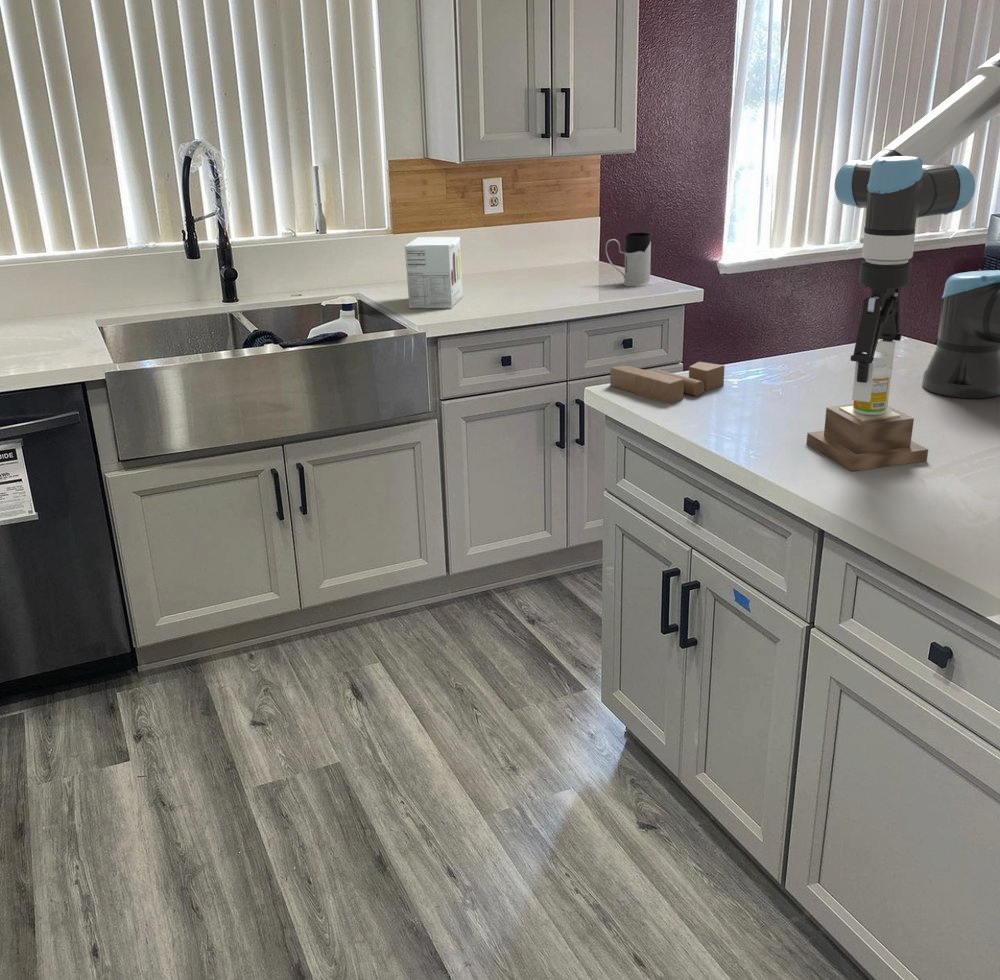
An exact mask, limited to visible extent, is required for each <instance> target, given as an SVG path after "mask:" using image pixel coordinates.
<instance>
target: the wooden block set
mask: <svg viewBox="0 0 1000 980" xmlns="http://www.w3.org/2000/svg"><path fill="white" fill-rule="evenodd" d="M725 367H726V366H725V365H724V364H717V363H711V362H703V361H697V362H696V363H694V364H692V365H691V364H690V366H689V367H688V377H687V376H684V375H680V374H676V373H673V372H669V371H668V372H667V371H665V370H661V369H656V370H646V369H642V368H639V367H634V366H630V365H619V366H618V365H617V366H613V367H611V368H610V369H609V370H610V371H609V373H610V375H609V376H610V379H609V380H610V383H609V384H610V387H614V388H617V389H621V390H624V391H626V392H630V393H633V394H636V395H637V396H641V397H644V398H648V399H651V400H655V401H658V402H661V403H665V404H672V403H675V402H678V401H681V400H683V399H684V394H687V395H691V396H694V397H701V395H702V394H703V392H708V391H712V390H714V389H718V388H722V387H724V385H725V384H724V383H725Z"/></svg>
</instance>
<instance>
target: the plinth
mask: <svg viewBox="0 0 1000 980" xmlns="http://www.w3.org/2000/svg"><path fill="white" fill-rule="evenodd" d="M825 409H826V410H825V418H824V429H823V430H818V431H809V432H806V434H807V435H806V444H807V445H808V446H810V447H812V448H813V449H814V450H816V451H817V452H820V453H822V454H823V455H824V456H826V457H827V458H829V459H831V460H833V461H834V462H835V463H837V464H838V465H840V466H842V467H844V468H845V469H847V470H848V471H850V472H856V471H857V472H858V471H862V470H863V471H864V470H871V468H872V469H876V468H877V467H879V468H884V467H883V466H886V467H891V465H893V466H900V465H906V464H914V463H921V462H927V461H928V456H929V448H926V447H925V446H922V445H920V444H919V443H917V442H915V441H913V440H912V436H913V429H914V420H915V418H914V417H912V416H910V415H907V414H906V413H904V412H902V411H900V410H898V409H895V408H893V407H891V406H889V405H888V407H887V411H886V413H884V414H881V415H863V414H859V413H857V412H855V411H854V409H853V403H852V404H851V403H850V404H844V405H835V406H828V407H827V406H826V408H825ZM899 464H900V465H899Z"/></svg>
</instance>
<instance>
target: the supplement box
mask: <svg viewBox="0 0 1000 980" xmlns="http://www.w3.org/2000/svg"><path fill="white" fill-rule="evenodd" d="M461 251H462V250H461V237H460V236H418V237H416V238H414V239H413V240H412V241H410V242H409V243H407V244H405V245H404V253H405V269H406V280H407V293H408V294H407V295H408V307H409V309H452V308H454V306H455V305H457V303H458V302H459V301H460V300H462V298H463V297H464V295H463V294H464V293H463V276H462V275H463V274H462V258H461V257H462V254H461Z"/></svg>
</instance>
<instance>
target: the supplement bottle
mask: <svg viewBox="0 0 1000 980" xmlns="http://www.w3.org/2000/svg"><path fill="white" fill-rule="evenodd" d="M864 354H867V353H864ZM888 359H889V355H888V354H886V353H883V352H877V351H875V354H874V359H873V361H874V362H875V364H874V373H873V382H872V392H871V401H870V402H864V401H857V400H853V403H852V404H853V409H854V411H855V412H857V413H859V414H863V415H881V414H884V413H886V411H887V407H888V406H889V396H890V389H891V388H890V387H891V379H892V375H891V370H890V368H889V367H887V366H886V365H887V364H888Z"/></svg>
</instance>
